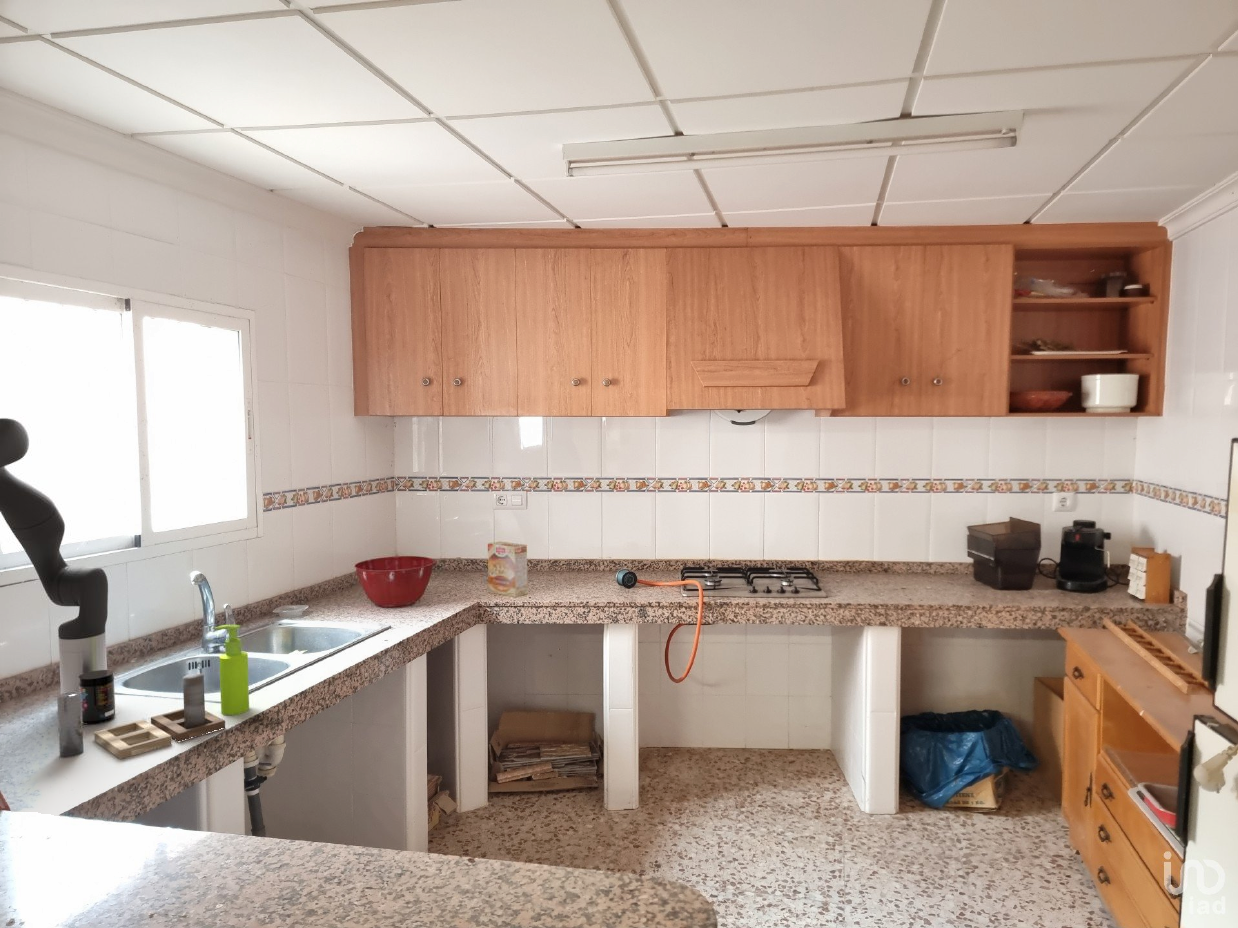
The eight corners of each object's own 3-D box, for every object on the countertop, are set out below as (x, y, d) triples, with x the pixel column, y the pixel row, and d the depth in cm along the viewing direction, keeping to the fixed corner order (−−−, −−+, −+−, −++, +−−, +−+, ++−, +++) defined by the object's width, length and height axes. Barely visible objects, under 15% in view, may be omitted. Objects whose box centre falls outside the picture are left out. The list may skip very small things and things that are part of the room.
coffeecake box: (487, 592, 316) (486, 543, 315) (500, 589, 321) (500, 540, 320) (515, 597, 307) (514, 546, 306) (528, 594, 312) (527, 544, 311)
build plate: (94, 740, 170) (94, 731, 170) (143, 727, 177) (143, 718, 177) (120, 758, 160) (120, 750, 160) (171, 744, 168) (171, 735, 168)
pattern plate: (151, 725, 178) (149, 671, 178) (195, 713, 186) (194, 661, 185) (179, 741, 169) (177, 685, 168) (225, 728, 176) (223, 674, 176)
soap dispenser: (225, 705, 190) (222, 622, 189) (253, 706, 190) (251, 622, 189) (211, 714, 185) (208, 628, 183) (241, 715, 184) (238, 628, 183)
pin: (57, 753, 163) (54, 695, 163) (79, 747, 166) (77, 690, 166) (63, 758, 161) (60, 699, 160) (86, 752, 164) (84, 694, 163)
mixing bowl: (400, 615, 278) (399, 571, 277) (338, 608, 290) (337, 565, 290) (450, 599, 304) (450, 558, 303) (391, 593, 316) (390, 553, 315)
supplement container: (95, 713, 186) (93, 669, 185) (122, 714, 185) (121, 670, 185) (72, 724, 179) (70, 678, 178) (101, 725, 178) (99, 679, 178)
